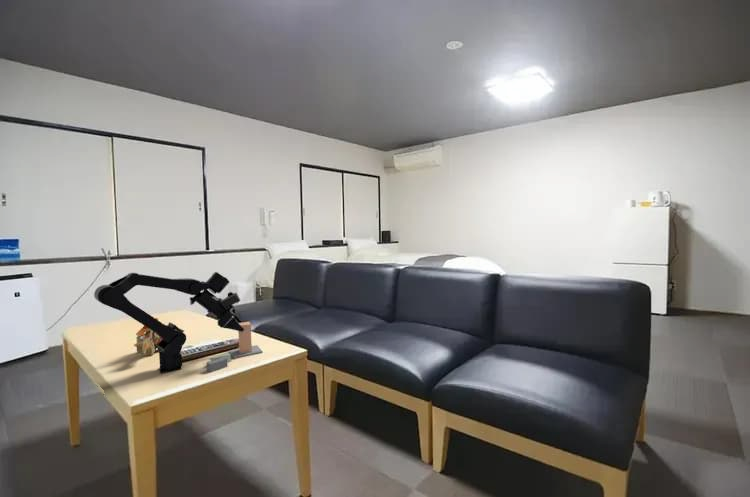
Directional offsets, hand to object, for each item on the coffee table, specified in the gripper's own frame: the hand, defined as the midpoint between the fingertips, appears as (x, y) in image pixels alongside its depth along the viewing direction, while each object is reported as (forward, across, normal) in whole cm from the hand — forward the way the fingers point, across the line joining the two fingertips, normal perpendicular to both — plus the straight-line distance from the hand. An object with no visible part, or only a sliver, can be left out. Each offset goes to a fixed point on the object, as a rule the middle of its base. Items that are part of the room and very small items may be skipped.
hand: (243, 327), depth 140 cm
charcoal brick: (+1, -13, +14) cm, 19 cm away
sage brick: (+2, -8, +13) cm, 15 cm away
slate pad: (+8, 0, +7) cm, 10 cm away
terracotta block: (+7, 0, +6) cm, 9 cm away
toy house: (-17, +14, +32) cm, 39 cm away
